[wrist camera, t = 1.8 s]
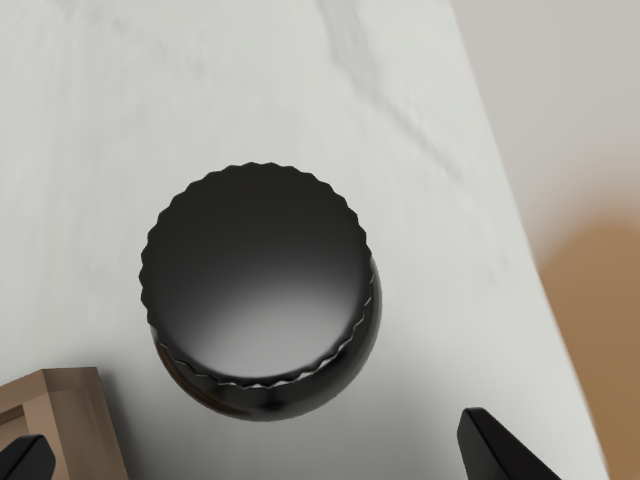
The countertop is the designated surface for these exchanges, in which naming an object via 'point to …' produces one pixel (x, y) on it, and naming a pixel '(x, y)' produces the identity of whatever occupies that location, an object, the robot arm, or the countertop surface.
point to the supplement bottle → (261, 292)
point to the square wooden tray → (64, 421)
